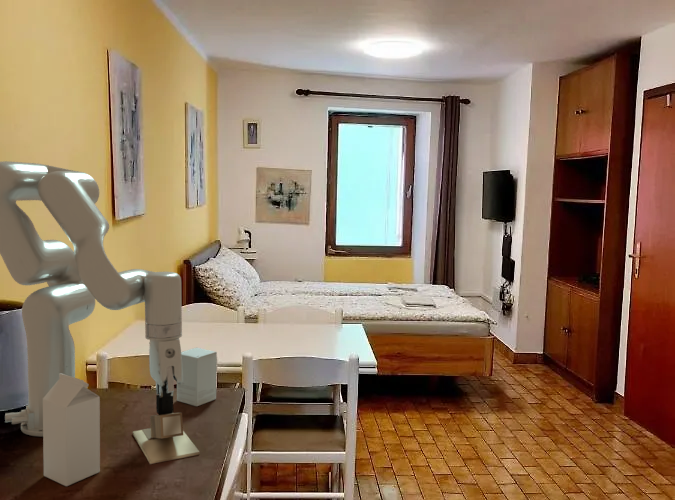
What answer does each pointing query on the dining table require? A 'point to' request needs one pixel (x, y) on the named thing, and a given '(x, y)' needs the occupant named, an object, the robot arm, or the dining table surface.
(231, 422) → the dining table surface
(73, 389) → the milk carton
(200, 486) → the dining table surface
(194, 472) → the dining table surface
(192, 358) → the supplement box
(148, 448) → the board
